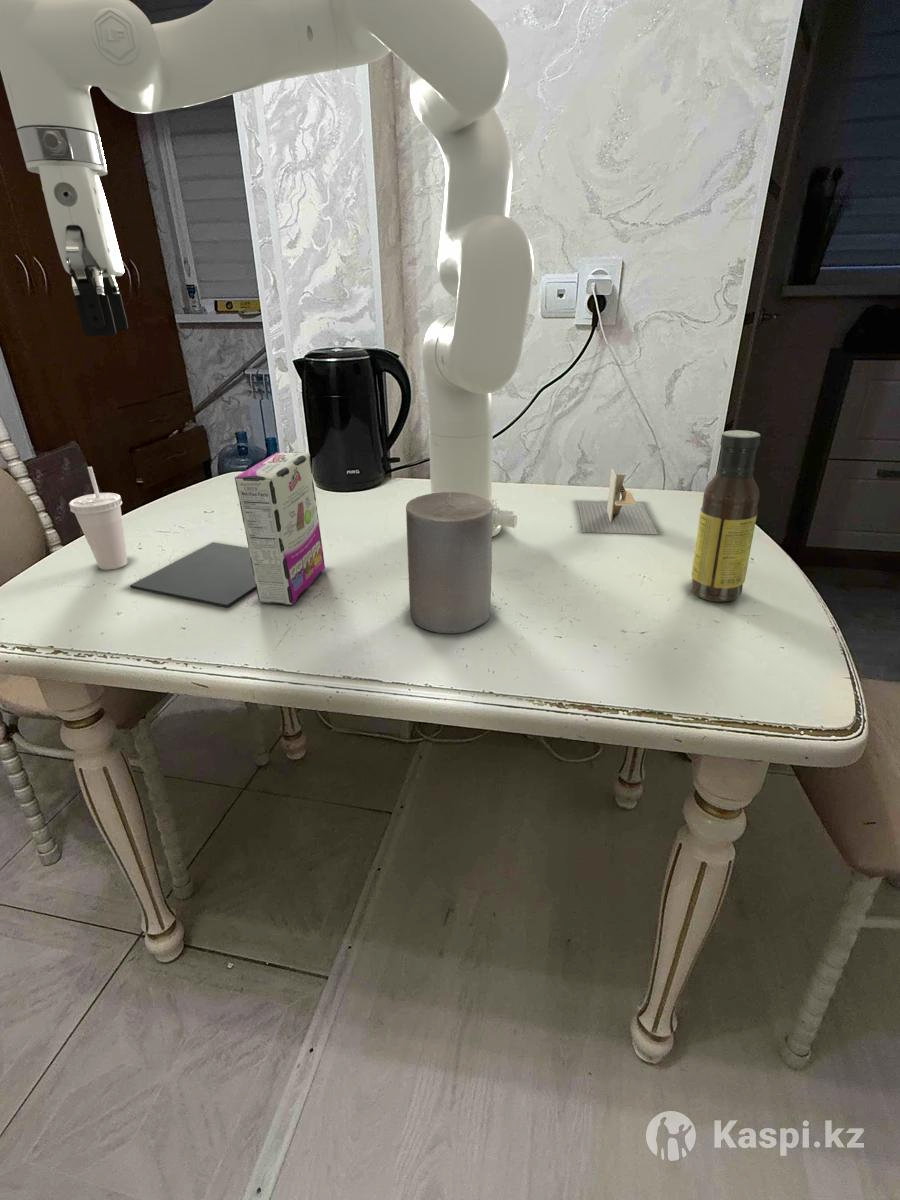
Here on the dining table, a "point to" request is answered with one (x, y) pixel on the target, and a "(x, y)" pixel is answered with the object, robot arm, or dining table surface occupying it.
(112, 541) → the smoothie
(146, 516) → the dining table surface
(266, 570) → the candy bar box
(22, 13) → the robot arm
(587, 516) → the architectural model
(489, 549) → the pillar candle
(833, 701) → the dining table surface
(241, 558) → the mat
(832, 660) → the dining table surface
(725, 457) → the sauce bottle
